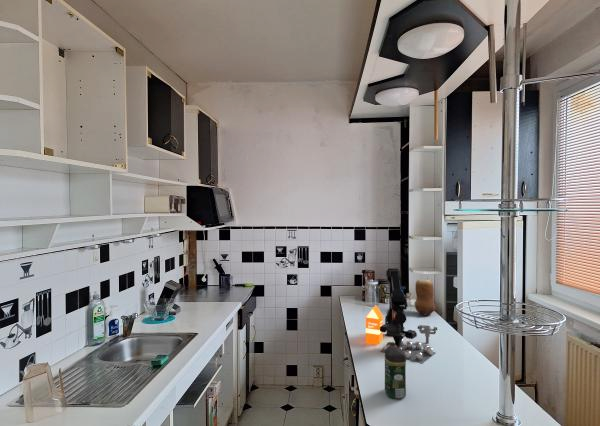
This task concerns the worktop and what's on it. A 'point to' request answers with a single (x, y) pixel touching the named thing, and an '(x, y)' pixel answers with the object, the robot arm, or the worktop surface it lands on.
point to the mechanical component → (427, 331)
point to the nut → (391, 344)
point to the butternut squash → (424, 297)
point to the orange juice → (374, 326)
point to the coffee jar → (395, 373)
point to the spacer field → (426, 349)
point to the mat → (413, 354)
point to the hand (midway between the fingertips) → (397, 347)
